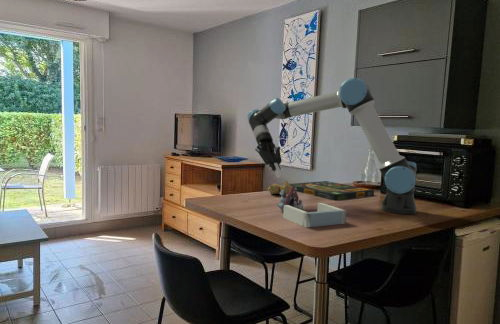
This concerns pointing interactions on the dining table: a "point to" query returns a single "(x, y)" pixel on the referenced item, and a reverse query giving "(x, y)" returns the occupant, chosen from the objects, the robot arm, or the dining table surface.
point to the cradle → (315, 216)
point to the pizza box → (332, 190)
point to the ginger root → (279, 188)
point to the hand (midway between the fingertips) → (279, 176)
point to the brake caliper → (290, 199)
